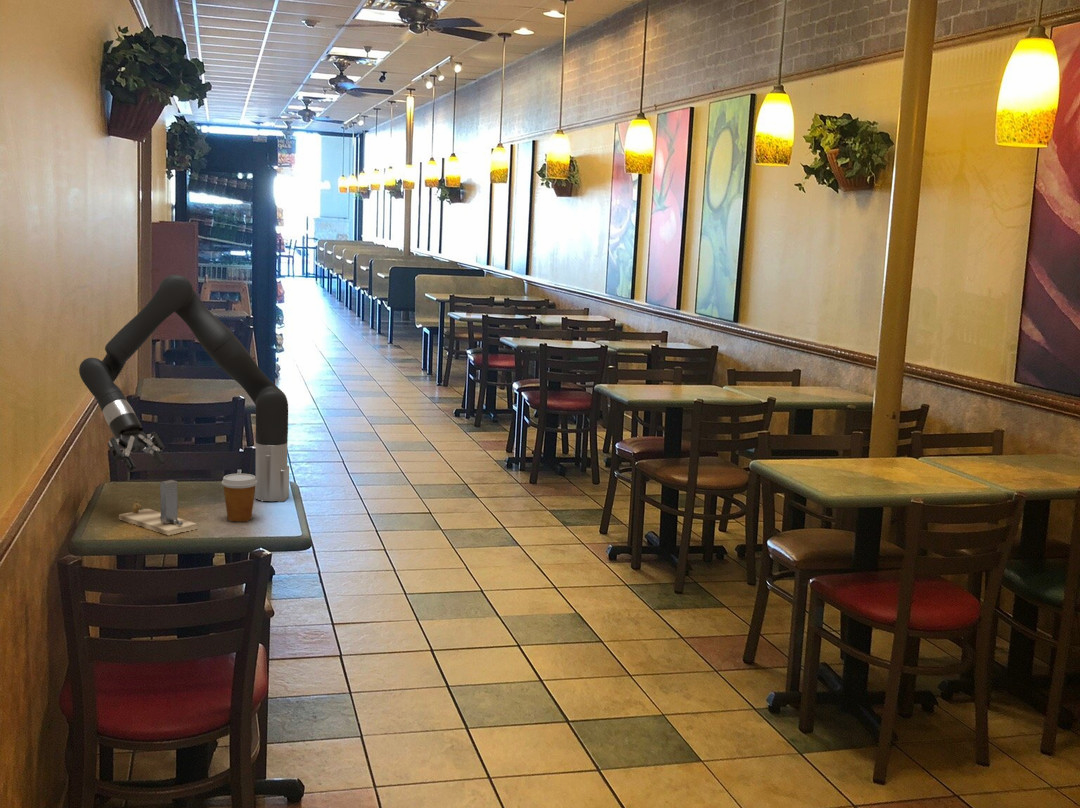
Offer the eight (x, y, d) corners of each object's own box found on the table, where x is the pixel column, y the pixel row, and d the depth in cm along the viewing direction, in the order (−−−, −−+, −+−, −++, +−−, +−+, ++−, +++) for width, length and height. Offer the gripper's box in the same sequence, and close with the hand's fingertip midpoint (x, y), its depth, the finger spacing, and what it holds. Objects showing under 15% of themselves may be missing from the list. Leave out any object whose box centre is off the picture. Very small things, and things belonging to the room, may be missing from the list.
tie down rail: (197, 529, 284) (197, 514, 284) (168, 536, 277) (168, 521, 276) (147, 513, 297) (147, 499, 296) (118, 520, 290) (118, 505, 289)
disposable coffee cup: (255, 523, 292) (255, 481, 290) (219, 523, 290) (219, 481, 289) (258, 514, 301) (258, 473, 299) (223, 514, 300) (223, 472, 298)
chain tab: (186, 524, 282) (186, 484, 281) (175, 526, 280) (175, 486, 278) (166, 517, 287) (165, 478, 286) (154, 520, 285) (154, 480, 283)
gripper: (103, 414, 284) (130, 463, 279) (150, 408, 295) (176, 455, 291) (92, 431, 288) (118, 479, 283) (139, 424, 299) (164, 471, 295)
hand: (147, 467), depth 287 cm, fingers open, 8 cm apart
